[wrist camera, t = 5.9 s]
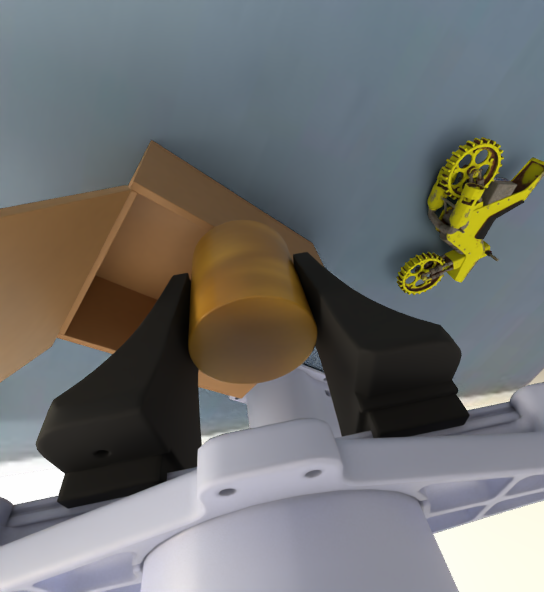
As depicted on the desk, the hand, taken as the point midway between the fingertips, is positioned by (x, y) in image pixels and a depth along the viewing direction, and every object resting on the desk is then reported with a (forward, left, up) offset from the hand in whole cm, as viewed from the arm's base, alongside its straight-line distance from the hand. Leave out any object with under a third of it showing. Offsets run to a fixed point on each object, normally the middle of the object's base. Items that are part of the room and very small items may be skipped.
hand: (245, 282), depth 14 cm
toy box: (-1, +5, -10) cm, 11 cm away
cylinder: (0, 0, -1) cm, 1 cm away
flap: (+7, +5, 0) cm, 9 cm away
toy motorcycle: (-15, -8, -10) cm, 20 cm away
